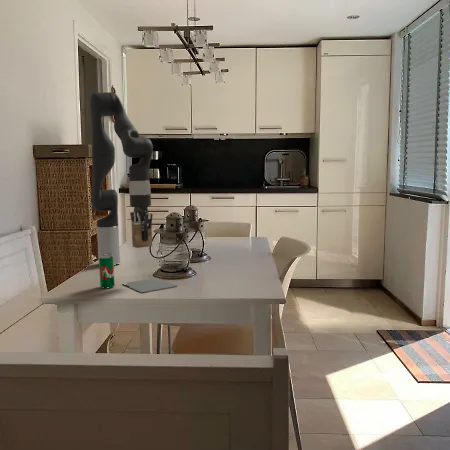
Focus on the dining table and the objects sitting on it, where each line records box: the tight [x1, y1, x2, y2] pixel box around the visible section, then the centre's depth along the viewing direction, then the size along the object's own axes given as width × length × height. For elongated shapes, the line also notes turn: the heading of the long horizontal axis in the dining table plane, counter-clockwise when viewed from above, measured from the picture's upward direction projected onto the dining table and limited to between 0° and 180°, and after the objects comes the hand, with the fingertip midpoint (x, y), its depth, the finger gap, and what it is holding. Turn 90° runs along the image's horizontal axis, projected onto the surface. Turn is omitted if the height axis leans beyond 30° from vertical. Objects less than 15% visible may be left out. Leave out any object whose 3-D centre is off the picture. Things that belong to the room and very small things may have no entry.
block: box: [130, 221, 153, 249], centre depth 175 cm, size 4×6×9 cm, turn 126°
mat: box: [126, 277, 178, 293], centre depth 174 cm, size 16×14×1 cm
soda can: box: [98, 253, 116, 289], centre depth 172 cm, size 5×5×12 cm
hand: (142, 240), depth 175 cm, fingers closed on block, 4 cm apart
